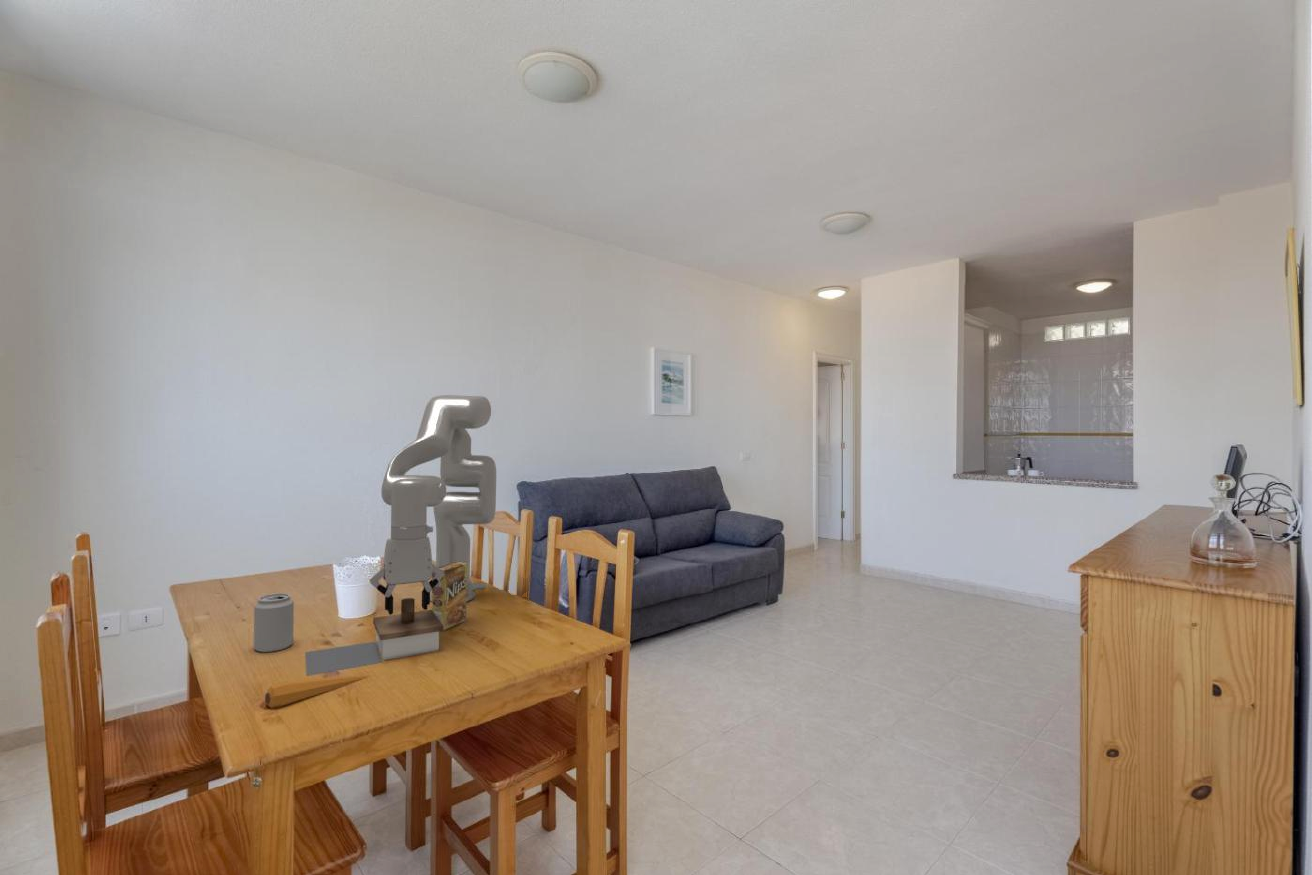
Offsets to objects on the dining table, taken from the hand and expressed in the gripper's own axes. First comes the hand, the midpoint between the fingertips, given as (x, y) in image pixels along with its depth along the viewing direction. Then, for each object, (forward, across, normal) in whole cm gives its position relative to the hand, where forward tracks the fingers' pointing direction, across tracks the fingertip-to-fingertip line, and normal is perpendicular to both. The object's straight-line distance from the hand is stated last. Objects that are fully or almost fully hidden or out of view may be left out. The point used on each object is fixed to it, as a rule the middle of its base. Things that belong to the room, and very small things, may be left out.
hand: (407, 609), depth 135 cm
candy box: (+9, -12, -12) cm, 19 cm away
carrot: (+9, +17, +16) cm, 25 cm away
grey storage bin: (+9, 0, 0) cm, 9 cm away
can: (+9, +26, -14) cm, 31 cm away
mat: (+9, +13, 0) cm, 16 cm away
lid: (+4, 0, 0) cm, 4 cm away
